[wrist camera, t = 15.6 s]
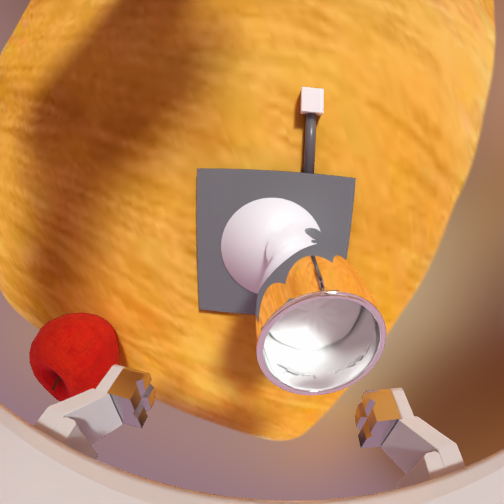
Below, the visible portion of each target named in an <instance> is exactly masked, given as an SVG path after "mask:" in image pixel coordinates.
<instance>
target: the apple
mask: <svg viewBox="0 0 504 504" xmlns="http://www.w3.org/2000/svg"><path fill="white" fill-rule="evenodd" d="M30 364H31V367H32V370H33V372H34V375H35V377H36V378H37V380H38V381H39V382H40V383H41V384H42V385H43V387H44V388H46V390H47V391H49V393H50V394H52V395H53V396H54V397H55V398H56V399H57V400H59V401H60V402H61V401H64V400H66V399H68V398H71V397H73V396H76V395H78V394H80V393H83V392H85V391H87V390H90V389H92V388H94V389H96V388H97V386H98V385H99V383H100V382H101V381H102V379H103V378H104V377H105V375H106V374H107V372H108V371H109V370H110V368H111V367H112V366H113V365H115V364H117V365H119V347H118V341H117V337H116V333H115V330H114V329H113V327H112V326H111V325H110V323H109V322H107V321H106V320H105V319H103V318H101V317H99V316H97V315H93V314H88V313H72V314H66V315H63V316H61V317H58V318H56V319H54V320H52V321H49V322H48V323H46V324H45V325H44V326H43V327H42V328H41V330H40V331H39V333H38V334H37V336H36V337H35V339H34V341H33V342H32V344H31V349H30Z"/></svg>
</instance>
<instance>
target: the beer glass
mask: <svg viewBox="0 0 504 504" xmlns="http://www.w3.org/2000/svg"><path fill="white" fill-rule="evenodd" d="M266 261H267V264H268V267H267V269H266V271H265V273H264V275H263V278H262V281H261V283H260V286H259V290H258V295H257V302H256V317H255V323H256V340H257V346H256V355H257V361H258V364H259V366H260V369H261V370H262V372H263V373H264V375H265V376H266V377H267V378H268V379H269V380H270V381H271V382H272V383H273V384H275V385H276V386H278V387H280V388H282V389H284V390H286V391H289V392H292V393H296V394H302V395H322V394H328V393H332V392H336V391H339V390H342V389H344V388H346V387H348V386H350V385H352V384H354V383H356V382H357V381H359V380H360V379H361V378H363V377H364V376H365V375H366V374H367V373H368V372H369V371H370V370H371V369H372V368H373V367H374V366H375V364H376V363H377V361H378V359H379V358H380V356H381V354H382V352H383V349H384V346H385V342H386V327H385V322H384V320H383V317H382V315H381V313H380V312H379V311H378V309H377V307H376V305H375V302H374V300H373V298H372V296H371V294H370V292H369V290H368V288H367V287H366V285H365V283H364V282H363V280H362V279H361V277H360V276H359V274H358V273H357V272H356V271H355V269H354V268H353V267H352V266H351V265H350V264H349V262H347V261H346V260H345V259H344V258H343V257H341V256H340V255H339V254H337V253H336V252H334V251H333V250H331V249H329V248H328V244H327V241H326V239H325V237H324V236H323V234H322V233H321V232H320V231H319V230H318V229H317V228H315V227H314V226H312V225H310V224H307V223H301V222H294V223H289V224H286V225H284V226H282V227H280V228H279V229H277V230H276V231H275V232H274V233H273V234H272V236H271V237H270V239H269V241H268V243H267V247H266Z"/></svg>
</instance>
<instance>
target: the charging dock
mask: <svg viewBox="0 0 504 504" xmlns="http://www.w3.org/2000/svg"><path fill="white" fill-rule="evenodd" d="M323 107H324V89H319V88H309V87H302V89H301V101H300V114H306V123H305V148H304V167H303V173H301V172H287V171H271V170H250V169H197V260H198V289H199V309H201V310H211V311H220V312H230V313H241V314H253V315H256V302H257V295H258V290H259V286H260V283H261V281H262V278H263V275H264V273H265V271H266V269H267V267H268V264H267V261H266V247H267V243H268V241H269V239H270V237H271V236H272V234H273V233H274V232H275V231H276V230H277V229H279V228H280V227H282V226H284V225H286V224H289V223H294V222H301V223H307V224H310V225H312V226H314V227H315V228H317V229H318V230H319V231H320V232H321V233H322V234H323V236H324V237H325V239H326V241H327V244H328V248H329V249H331V250H333V251H334V252H336V253H337V254H339V255H340V256H341V257H343V258H344V259H345V260H346V258H347V251H348V244H349V237H350V229H351V220H352V212H353V202H354V191H355V179H356V178H351V177H343V176H333V175H324V174H314V161H315V140H316V115H318V116H321V115H322V114H323Z"/></svg>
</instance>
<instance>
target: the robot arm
mask: <svg viewBox="0 0 504 504" xmlns="http://www.w3.org/2000/svg"><path fill="white" fill-rule="evenodd" d="M151 380H152V379H151V376H150V374H149V373H147V372H143V371H139V370H135V369H132V368H128V367H124V366H121V365H117V364H115V365H113V366H112V367H111V368H110V370H109V371H108V372H107V374H106V375H105V377H104V378H103V379H102V381H101V382H100V383H99V385H98V386H97V388H96V389H94V388H92V389H90V390H87V391H85V392H83V393H80V394H78V395H76V396H73V397H71V398H68V399H66V400H64V401H61V402H59V403H56V404H54V405H51V406H49V407H48V408H47V409H46V411H45V412H44V413H43V414H42V416H41V417H40V418H39V420H38V421H37V422H36V424H35V425H34V426H32V425H31V424H29V423H28V422H26V421H25V420H23V419H22V418H20V417H19V416H18V415H16V414H15V413H13V412H12V411H11V410H9V409H8V408H7V407H5V406H4V405H3V404H1V403H0V504H504V449H503V450H501V451H499V452H497V453H495V454H493V455H491V456H489V457H487V458H485V459H483V460H481V461H478V462H476V463H474V464H472V465H469V466H467V467H465V464H464V462H463V459H462V457H461V454H460V452H459V450H458V447H457V445H456V443H454V442H453V441H451V440H450V439H448V438H447V437H445V436H444V435H442V434H441V433H440V432H438V431H437V430H436V429H434V428H433V427H431V426H430V425H429V424H427V423H426V422H424V421H423V420H422V419H420V418H419V417H414V415H413V413H412V410H411V408H410V406H409V403H408V401H407V398H406V396H405V394H404V391H403V389H402V388H393V389H382V390H370V391H365V392H364V393H363V395H362V401H363V402H361V403H360V404H359V405H358V407H357V409H356V414H355V422H356V427H357V428H359V429H360V430H361V431H360V433H359V435H358V437H359V442H360V446H361V448H370V447H379V446H381V448H382V450H383V451H385V453H386V454H387V455H388V456H389V457H390V458H391V459H392V460H393V461H394V462H395V463H396V464H397V465H398V466H399V467H400V469H402V471H404V472H405V474H406V475H405V476H404V477H403V478H402V479H401V480H400V481H399V482H398V483H397V485H396V486H397V489H395V490H390V491H385V492H380V493H374V494H368V495H362V496H356V497H347V498H338V499H326V500H307V501H306V500H305V501H279V500H278V501H277V500H258V499H246V498H236V497H228V496H221V495H215V494H208V493H203V492H198V491H192V490H188V489H183V488H179V487H175V486H171V485H167V484H164V483H160V482H157V481H153V480H150V479H147V478H143V477H140V476H137V475H134V474H131V473H129V472H126V471H123V470H120V469H118V468H115V467H112V466H110V465H108V464H105V463H103V462H100V461H98V460H96V459H97V457H98V455H97V453H96V451H95V450H94V448H93V447H92V446H91V445H92V444H93V443H95V442H96V441H98V440H99V439H101V438H103V437H104V436H106V435H107V434H109V433H110V432H112V431H113V430H115V429H116V428H118V427H119V426H121V425H122V424H123V423H124V424H128V425H131V426H135V427H139V428H142V427H143V425H144V423H145V421H146V418H147V414H146V411H148V410H150V409H151V408H152V406H153V404H154V399H155V391H154V387H153V386H152V385H151V384H150V382H151Z"/></svg>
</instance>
